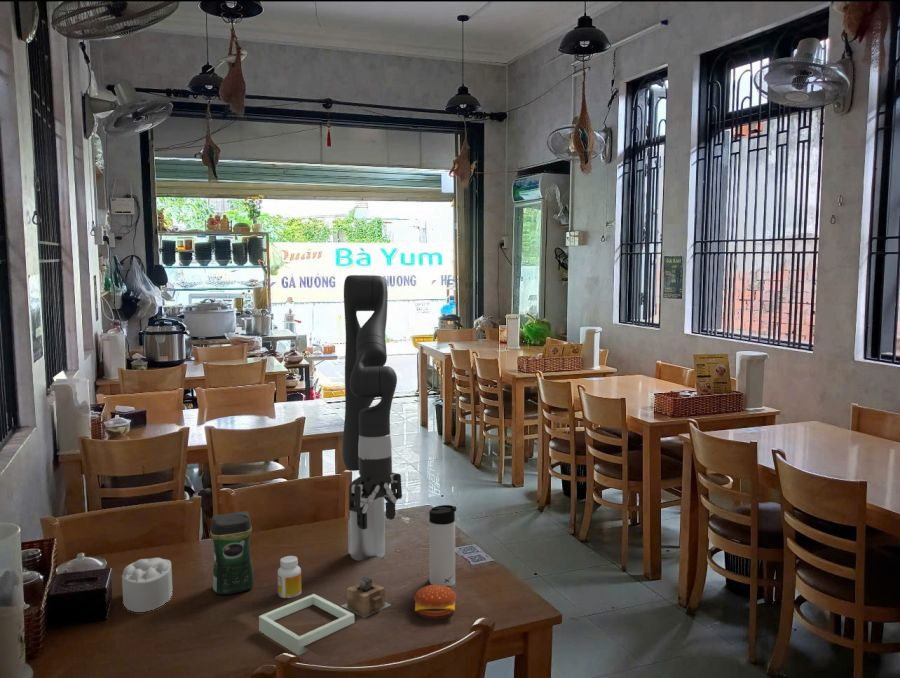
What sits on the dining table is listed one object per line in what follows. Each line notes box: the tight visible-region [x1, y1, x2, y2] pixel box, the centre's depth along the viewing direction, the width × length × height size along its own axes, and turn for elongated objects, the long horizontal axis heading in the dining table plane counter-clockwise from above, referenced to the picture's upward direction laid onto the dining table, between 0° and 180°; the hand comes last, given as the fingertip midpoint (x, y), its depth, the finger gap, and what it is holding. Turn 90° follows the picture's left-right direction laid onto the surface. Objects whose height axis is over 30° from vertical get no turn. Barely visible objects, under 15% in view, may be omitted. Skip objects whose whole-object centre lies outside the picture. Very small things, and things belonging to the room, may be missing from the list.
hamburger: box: [413, 584, 457, 621], centre depth 160 cm, size 9×10×7 cm
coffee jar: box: [209, 510, 255, 595], centre depth 174 cm, size 10×8×19 cm
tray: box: [258, 593, 356, 656], centre depth 154 cm, size 14×14×3 cm
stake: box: [340, 576, 392, 618], centre depth 162 cm, size 8×8×8 cm
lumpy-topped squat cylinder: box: [121, 557, 173, 612], centre depth 168 cm, size 10×13×9 cm
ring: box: [346, 581, 386, 614], centre depth 162 cm, size 7×6×4 cm
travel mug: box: [428, 504, 457, 588], centre depth 174 cm, size 6×7×20 cm
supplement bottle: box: [277, 555, 302, 599], centre depth 168 cm, size 5×5×10 cm
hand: (376, 523), depth 164 cm, fingers open, 8 cm apart
